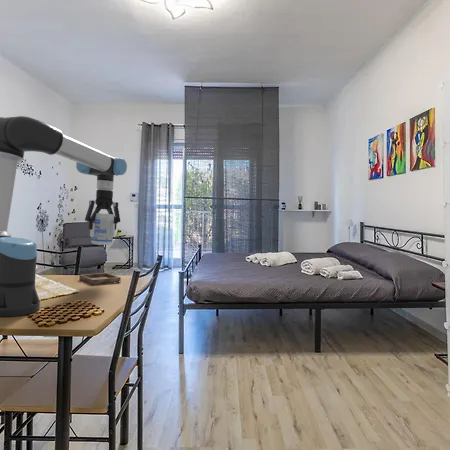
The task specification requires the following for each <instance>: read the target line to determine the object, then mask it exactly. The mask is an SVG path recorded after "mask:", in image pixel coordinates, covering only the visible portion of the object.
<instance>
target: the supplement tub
mask: <svg viewBox="0 0 450 450" xmlns="http://www.w3.org/2000/svg"><path fill="white" fill-rule="evenodd" d="M114 216H115V214H114V213H113V214H109V213H101V212H99V213H96V218H95V220H94V221H93V223H95V229H94V237H91V241H90V242H91V244H93V245H98V246H99V245H100V246H101V245H102V246H103V245H104V246H108V245H109V246H110V245H112V244H113V238H114V237H113V224H114Z"/></svg>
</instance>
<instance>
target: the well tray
mask: <svg viewBox="0 0 450 450" xmlns="http://www.w3.org/2000/svg"><path fill="white" fill-rule="evenodd" d="M78 277H79V279H78V280H79V281H80V282H83V283H85V284H87V285H91V286H99V285H108V284H109V283H111V284H115V283H114V282H119V281H120V282H122V281H121V279H122V278H121V276H118V275H114V274H111V273H108V272H100V273H98V272H97V273H89V274H88V273H87V274H85V273H84V274H79V276H78Z"/></svg>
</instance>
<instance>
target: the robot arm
mask: <svg viewBox="0 0 450 450" xmlns="http://www.w3.org/2000/svg"><path fill="white" fill-rule="evenodd" d="M25 152H37V153H43V154H47V155H50V156H51V155H52V156H53V155H57V156H60V157H63V158H65V159H69V160H70V161H73V162H76V167H75V168H76V170H77V172H78V173H80V174H84V175H89V176H93V177H94V176H96V189H97V190H96V194H95V197H96V199H95V200H91V199H90V200H89V201H88V204H89V205H88V208H87V210H86V211H87V212H86V215H85V217H84V221H85V222H88V229H89V230H90V231H89V237H91V238H92V237H94V229H95V223H93V221H94V220H95V218H96V213H100V212H101V210H106V211H107V214H114V224H113V238H115V231H116V230H117V224H119V223H120V222H121V215H120V210H119V202H116V201H115V202H114V200H113V195H114V192H113V190H114V182H115V181H114V178H115V176H116V177H117V176H123V175H125V174H126V173H127V168H128V164H127V161H126V160H125V158H122V157H114V156H111V155H108V154H106V153H104V152H102V151H100V150H98V149H95V148H93V147H91V146H90V145H89V146H88V145H87V144H84V143H82V142H80V141H78V140H76V139H73V138H72V137H69V136H67V135H65V134H63V132H62V130H60V129H58V128H57V127H54V126H52V125H51V124H48V123H46V122H44V121H41V120H38V119H36V118H33V117H29V116H25V115H24V116H23V115H21V116H20V115H19V116H8V117H1V116H0V317H1V318H2V317H19V316H25V315H26V316H27V315H30V314H33V313H36V312H38V311H39V310H40V307H41V301H40V298H39V294H38V292H37V287H36V274H37V273H36V272H37V257H38V250H37V248H38V247H37V243H36V242H35V241H33V240H31V239H28V238H23V237H15V236H12V235H11V233H10V232H9V231H8V226H9V219H10V215H11V207H12V202H13V195H14V189H15V181H16V177H17V176H16V175H17V168H18V164H19V163H21V162H23V161H24V157H25ZM95 205H96V206H95ZM112 207H113V208H112ZM93 210H94V211H93Z"/></svg>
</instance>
